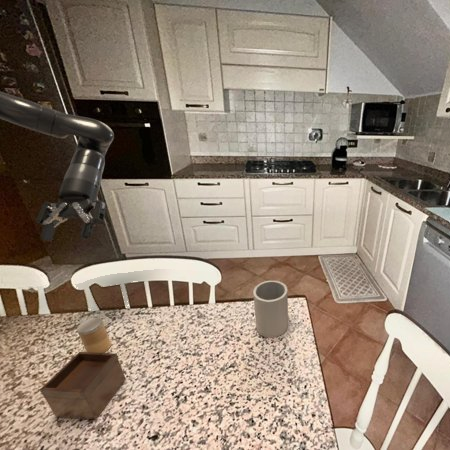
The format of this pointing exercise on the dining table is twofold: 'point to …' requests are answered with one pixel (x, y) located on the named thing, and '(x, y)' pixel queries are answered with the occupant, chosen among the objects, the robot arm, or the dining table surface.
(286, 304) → the cup
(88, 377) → the box
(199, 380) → the dining table surface
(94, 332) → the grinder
